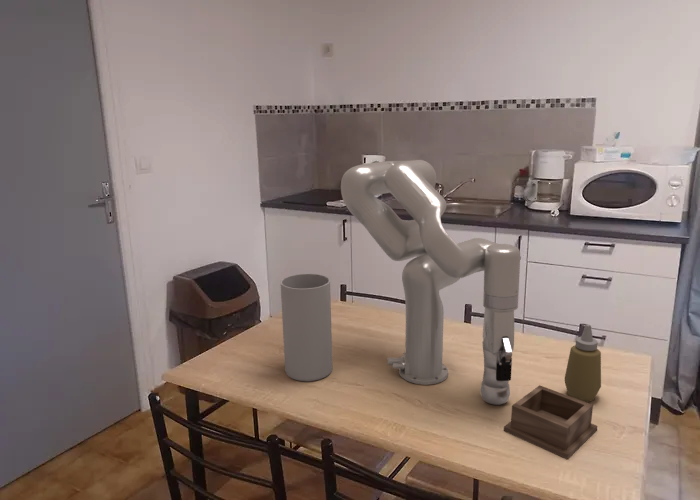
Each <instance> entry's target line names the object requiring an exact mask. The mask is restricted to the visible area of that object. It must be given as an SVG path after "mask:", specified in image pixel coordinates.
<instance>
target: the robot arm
mask: <svg viewBox="0 0 700 500" xmlns="http://www.w3.org/2000/svg"><path fill="white" fill-rule="evenodd" d="M340 182H341V183H340V194H341V197H342V200H343V202H344V205H345V207H346V208H347V209H348V211H349V212H350V213H351V214H352V216H354V218H355V219H357V221H358V222H359V223H360V224H361V225H362V226H363V227H364V228H365V229H366V230H367V232H368V233H369V235H370V236H371V237H372V238H373V240H374V241H375V242H376V243H377V245H379V247H380V248H381V250H383V252H384V253H385V254H386V256H387V257H388V258H389V259H391V260H392V261H395V262H403V261H406V260H409V261H408V262H407V263H406V264H405V266H404V267H403V269H402V272H401V273H402V274H401V279H402V280H401V281H402V288H403V292H404V298H405V299H404V301H405V303H404V304H405V350H404V352H403V353H402V354H403V356H399V357H387V366H392V369H393V370H394V369H398V370H399V371H398V372H399V375H400V377H401V378H402V379H403V380H405V381H407V382H409V383H412V384H415V385H424V386H425V385H426V386H427V385H428V386H429V385H434V384H439V383H441V382H444V381H445V380H446V379H447V378H448V376H449V369H448V367H447V365H445V364H444V363H443V352H444V350H443V349H444V347H443V346H444V313H445V311H444V304H443V301H442V299H441V295H440V291H441V290H443V289H444V288H446V287H450V286H452V285H453V284H455V283H457V282H458V281H459V280H460V279H462V278H466V277H469V276H471V275H473V274H475V273H480V272H484V274H483V300H482V301H483V302H482V306H483V307H484V315H483V325H482V340H483V339H484V337H485V336H486V337H487V340H488V349H489V351H490V352H491V353H492V354H494V353H497V359H498V363H496V380H497V381H511V380H512V365H513V357H512V356H513V353H514V348H515V347H514V346H515V311H516V310H518V308H519V293H520V292H519V291H520V272H521V250H520V249H519V248H518V247H517V246H516V245H512V244H506V243H496V242H493V241H491V240H488V239H485V238H483V237H481V238H480V237H474V238H470V239H467V240H464V241H462V242H458V243H457V242H455V240H454V239H453V238H452V237H451V236H450V235H449V234H448V233H447V231H446V229H445V228H444V226H443V223H442V220H441V218H442V216H443V215H444V213H445V211H446V210H447V201H446V200H445V198H444V197H443V196H442V195H441V193H439V192H438V191H437V189H435V188H434V187H435V186H436V183H437V173H436V170H435V168H434V167H433V165H432V164H431V163H429V162H428V161H425V160H423V159H412V160H385V161H378V162H370V163H362V164H359V165H355V166H352V167H350V168H349V169H347V170H346V171H345V172H344V174H343V175H342V177H341V181H340ZM388 193H390V194H391V195H392V196H393V197H394V198H395V199H396V200H397V202H398V203H399V204H400V205H401V206H402V207H403V209H405V211H406V212H407V213H408V214H409V215H410V217H412V219H411V220H407V221H406V220H403V219H402V218H401V217H399V216H398V215H397V213H396V212H395V211H394V210H393V208H392V207H390V206H389V205H388V204H387V203H386V202H384V201H382V200H380V199H379V198H377V197H376V196H378V195H383V194H384V195H385V194H388ZM410 259H411V260H410ZM499 349H504V350H499ZM501 354H504V356H503V357H502V359H501Z"/></svg>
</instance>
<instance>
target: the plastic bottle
mask: <svg viewBox="0 0 700 500" xmlns="http://www.w3.org/2000/svg"><path fill="white" fill-rule="evenodd" d="M499 350H504V349H499ZM482 351H483V375H482V381H481V385H480V391H479V392H480V396H481V399H482V400H483V401H484V402H485V403H487V404H489V405H494V406H501V405H504V404H506V403H507V402H508V401H509V399H510V395H511V389H510V388H511V387H510V383H509V381H497V380H496V363H498V359H497V353H494V354H492V353H491V352H490V351H489V349H488V340H487V337H486V336H485V337H484V339H483V338H482ZM503 356H504V354H501V359H502V357H503Z"/></svg>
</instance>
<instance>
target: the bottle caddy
mask: <svg viewBox="0 0 700 500" xmlns="http://www.w3.org/2000/svg"><path fill="white" fill-rule="evenodd" d="M593 409H594V404H592V403H589V402H584V401H581V400H578V399H576V398H573V397H570V396H569V395H568V394H564V393H562V392H559V391H557V390H554V389H550V388H549V387H546V386H543V385H540V384H539V385H538V386H537V387H535V388H534V389H532V390H531V391H530V392H528V393H527V394H525V395H524V396H523V397H522V398H520V399H519V400H517V401H516V402H515V403H513V404H512V405H511V413H510V415H511V416H510V417H511V418H510V421H509V422H508V423H507V424H505V425H504V426H503V431H504V432H505V433H508V434H510V435H512V436H515V437H517V438H519V439H521V440H523V441H526V442H528V443H531V444H533V445H534V446H537V447H539V448H541V449H543V450H546V451H548V452H550V453H552V454H554V455H556V456H560V457H561V458H564V459H567V460H569V458H570V457H571V456H573V455H574V454H575V453H576V451H578V450H579V449H580V448H581V447H582V446H583V444H584V443H586V441H587V440H589V439H590V438H591V437H592V436H593V434H594V433H596V432H597V430H598V425H597V424H594V423H592V418H593Z"/></svg>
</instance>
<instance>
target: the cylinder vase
mask: <svg viewBox="0 0 700 500" xmlns="http://www.w3.org/2000/svg"><path fill="white" fill-rule="evenodd" d="M280 296H281V297H280V299H281V318H282V321H281V322H282V336H283V337H282V339H283V354H284V355H283V357H284V372H285V374H286V375H287V376H288V377H289V378H291V379H293V380H295V381H299V382H312V381H313V382H315V381H319V380H322V379H324V378H326V377H327V376H329V375H330V374H331V372H332V371H333V341H332V339H333V337H332V335H333V334H332V333H333V332H332V307H331V306H332V304H331V303H332V301H331V300H332V298H331V297H332V295H331V279H330V277H328V276H326V275H323V274H319V273H298V274H293V275H288V276H286V277H284V278H282V279H281V280H280Z"/></svg>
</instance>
